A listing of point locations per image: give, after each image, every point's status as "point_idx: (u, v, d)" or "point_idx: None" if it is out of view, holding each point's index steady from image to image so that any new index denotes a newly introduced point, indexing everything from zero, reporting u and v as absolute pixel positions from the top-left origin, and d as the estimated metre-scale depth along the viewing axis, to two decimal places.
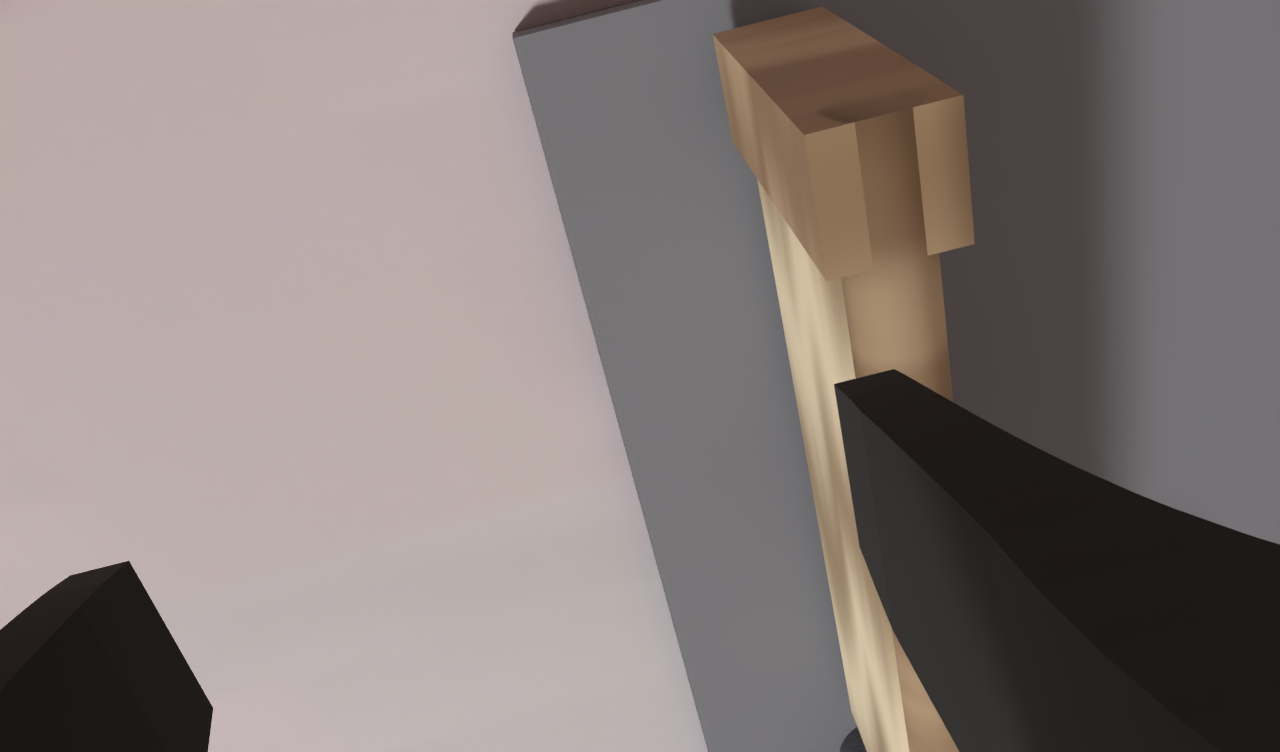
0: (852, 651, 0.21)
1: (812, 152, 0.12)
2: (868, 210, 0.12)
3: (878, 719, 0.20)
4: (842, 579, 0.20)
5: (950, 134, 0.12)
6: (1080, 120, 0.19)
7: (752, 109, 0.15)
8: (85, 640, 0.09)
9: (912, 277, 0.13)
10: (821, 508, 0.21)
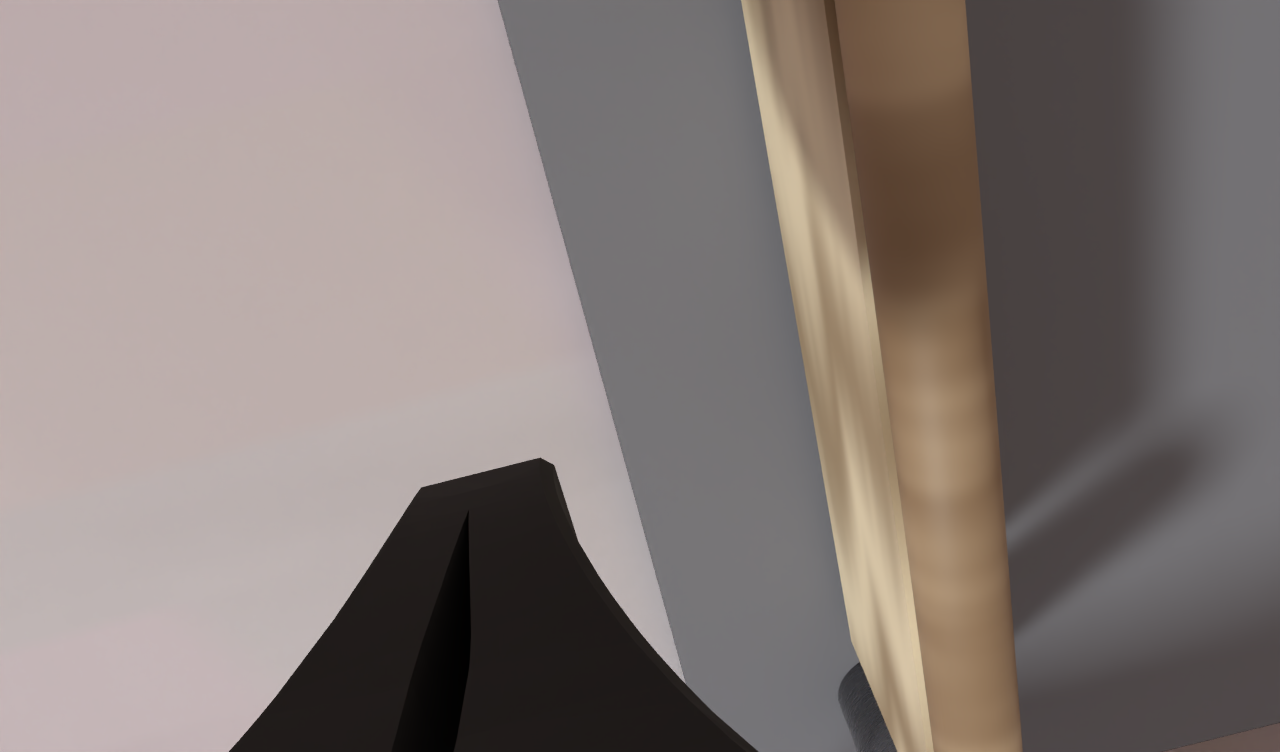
0: (852, 558, 0.18)
1: None
2: None
3: (882, 630, 0.17)
4: (839, 465, 0.17)
5: None
6: None
7: None
8: None
9: None
10: (815, 385, 0.18)
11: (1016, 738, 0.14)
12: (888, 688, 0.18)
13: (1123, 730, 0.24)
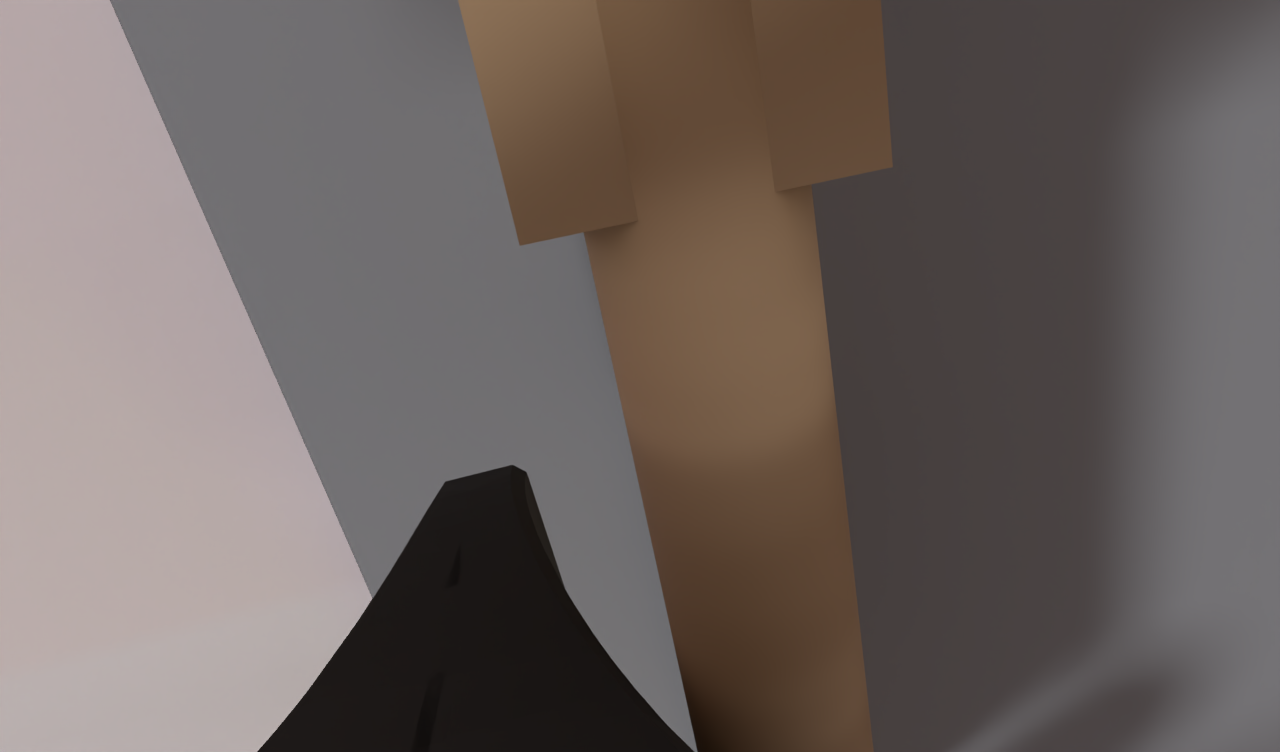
0: None
1: None
2: (613, 59, 0.05)
3: None
4: None
5: None
6: (1059, 18, 0.11)
7: None
8: None
9: (736, 244, 0.05)
10: None
11: None
12: None
13: None
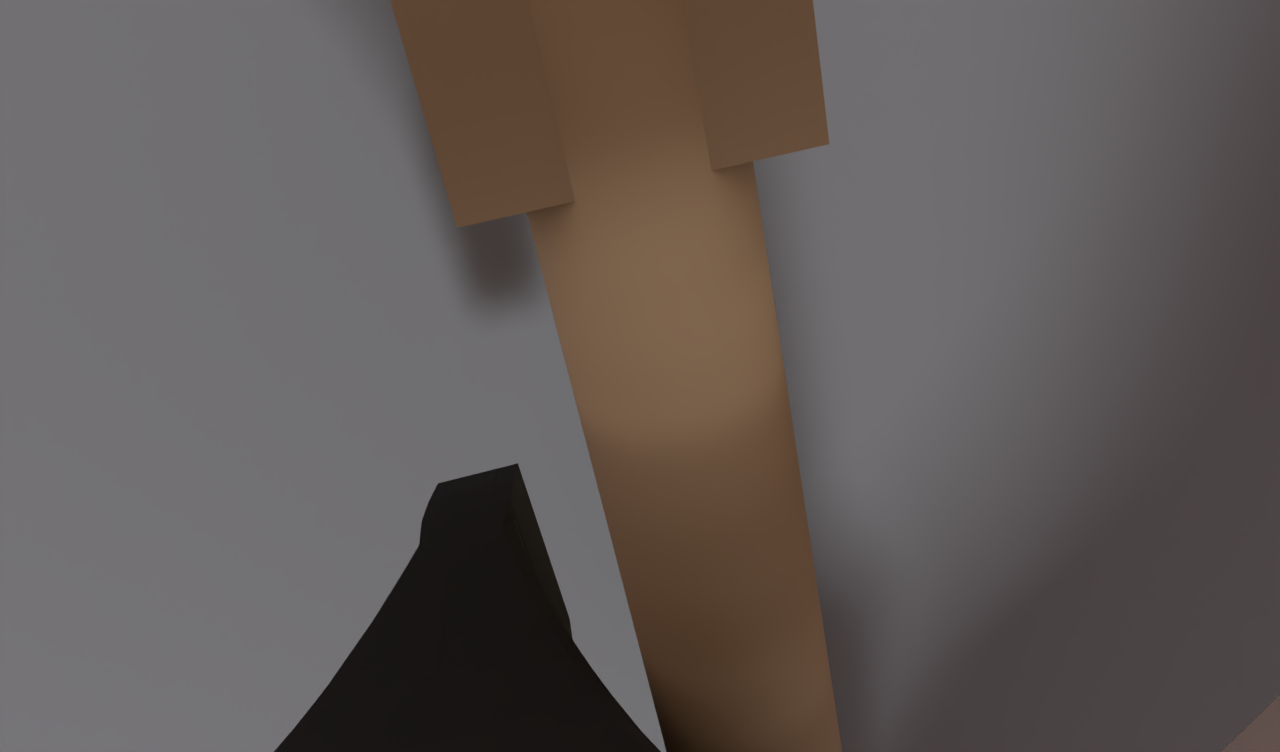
0: None
1: None
2: (542, 39, 0.05)
3: None
4: None
5: None
6: None
7: None
8: None
9: (673, 223, 0.05)
10: None
11: None
12: None
13: None
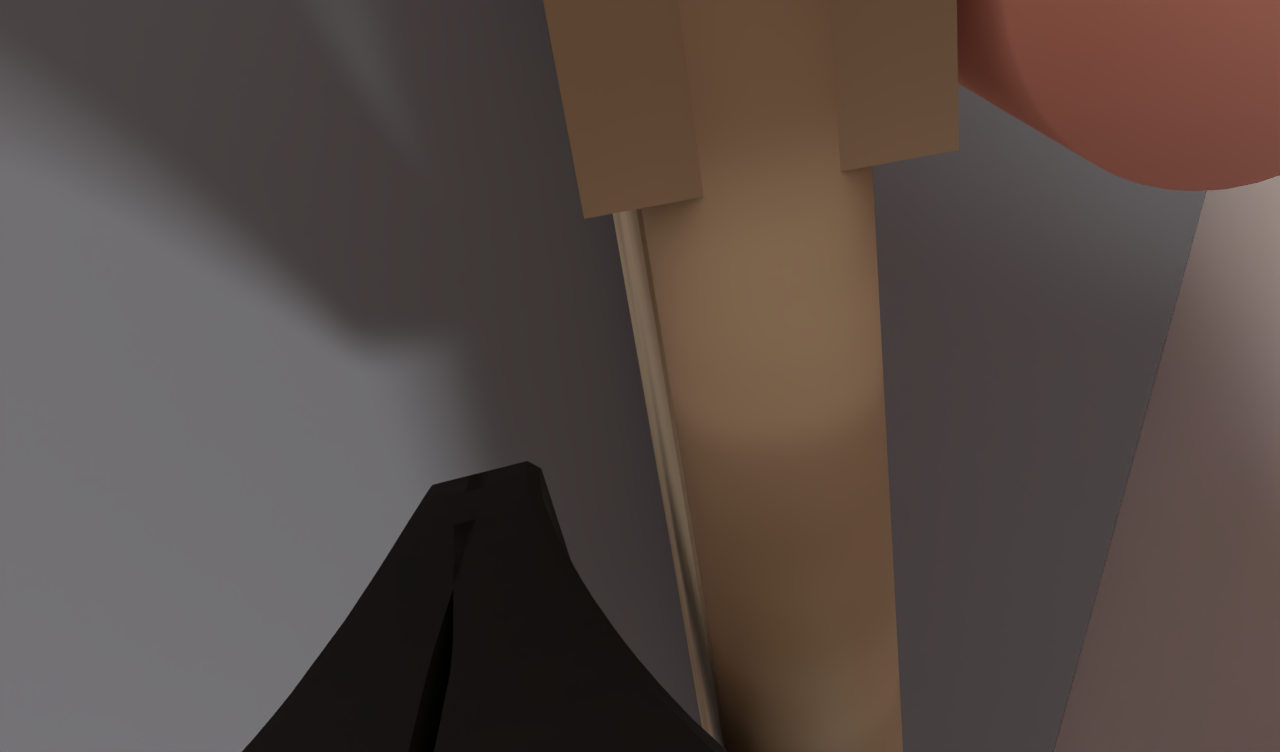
0: None
1: None
2: (688, 32, 0.05)
3: None
4: None
5: None
6: None
7: None
8: None
9: (800, 223, 0.05)
10: (687, 632, 0.13)
11: None
12: None
13: (1001, 713, 0.16)
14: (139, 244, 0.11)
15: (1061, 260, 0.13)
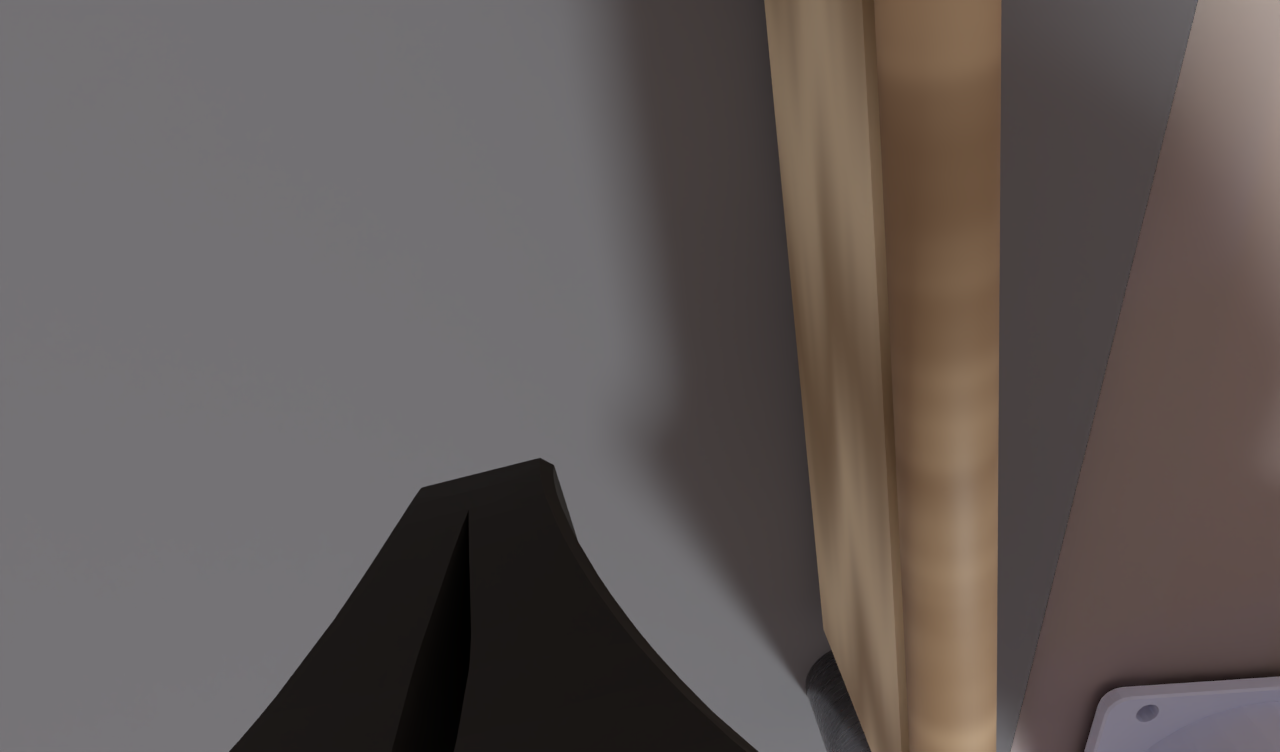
0: (833, 543, 0.19)
1: None
2: None
3: (861, 615, 0.17)
4: (828, 449, 0.17)
5: None
6: (93, 502, 0.19)
7: None
8: None
9: None
10: (808, 369, 0.18)
11: (992, 723, 0.15)
12: (862, 673, 0.18)
13: (1032, 468, 0.21)
14: (430, 68, 0.16)
15: (1083, 91, 0.17)
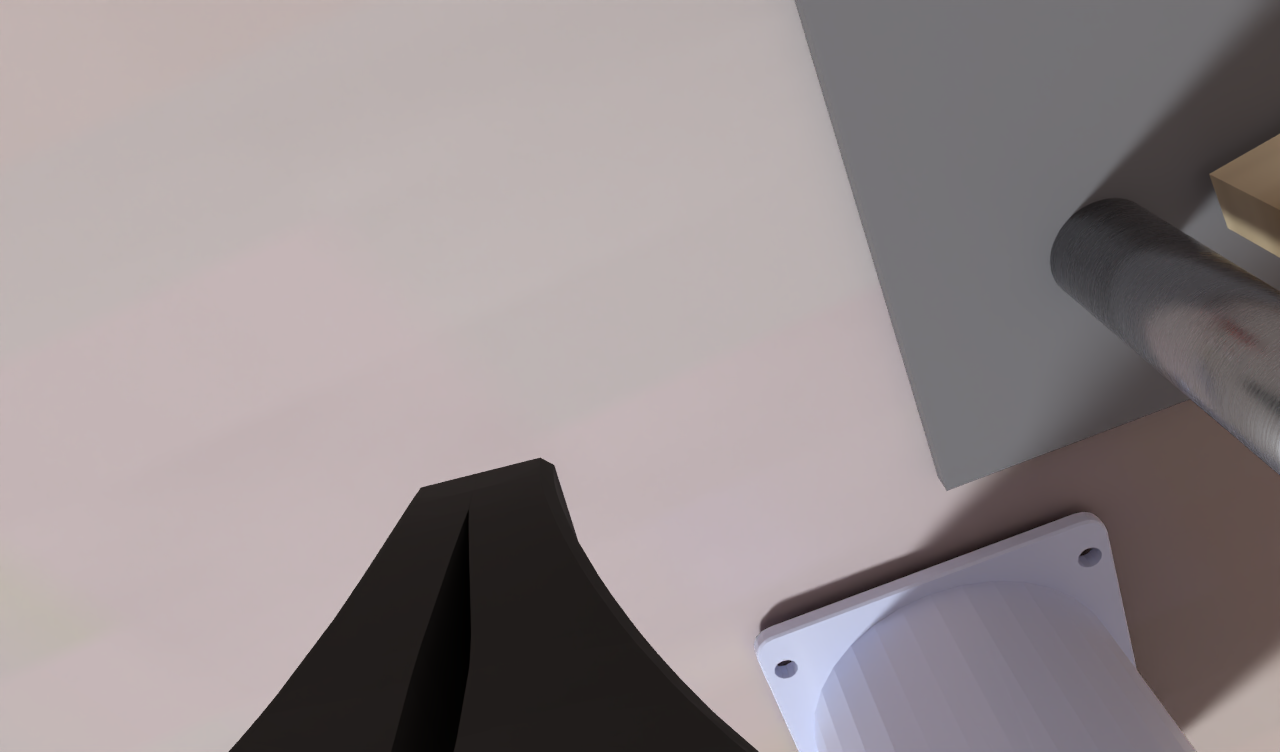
0: None
1: None
2: None
3: None
4: None
5: None
6: None
7: None
8: None
9: None
10: None
11: None
12: None
13: None
14: None
15: None
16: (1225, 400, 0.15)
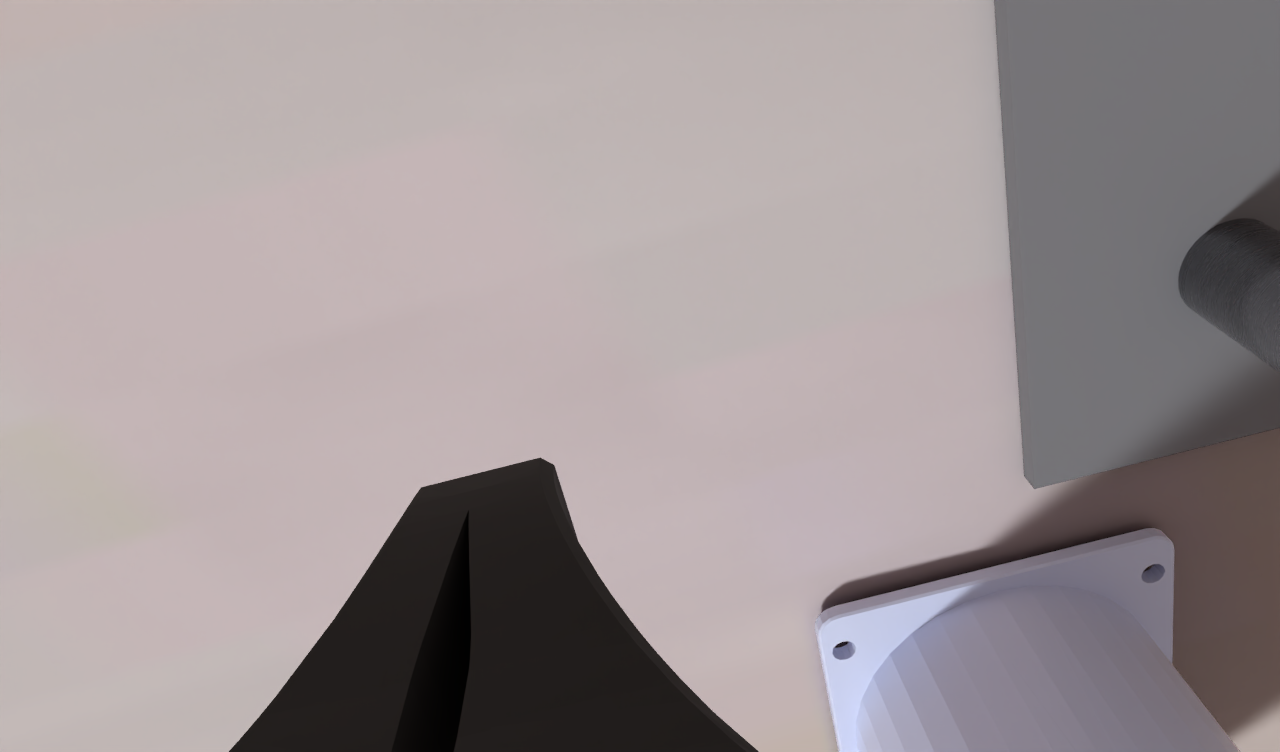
0: None
1: None
2: None
3: None
4: None
5: None
6: None
7: None
8: None
9: None
10: None
11: None
12: None
13: None
14: None
15: None
16: None
